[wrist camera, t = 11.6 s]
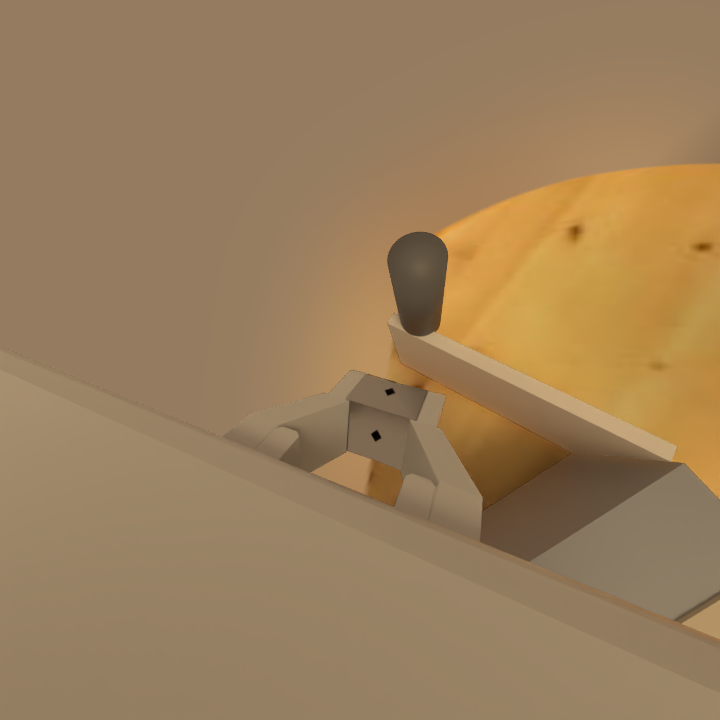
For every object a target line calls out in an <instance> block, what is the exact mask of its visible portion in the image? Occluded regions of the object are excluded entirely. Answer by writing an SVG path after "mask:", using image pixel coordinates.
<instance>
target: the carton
mask: <svg viewBox="0 0 720 720" xmlns="http://www.w3.org/2000/svg"><path fill="white" fill-rule="evenodd" d="M480 542H481V543H484V544H486V545H489V546H491V547H494V548H496V549H498V550H501V551H503V552H506V553H508V554H511V555H513V556H516V557H518V558H521V559H523V560H526V561H528V562H531V563H533V564H536V565H538V566H541V567H543V568H546V569H548V570H550V571H553V572H555V573H558V574H560V575H563V576H565V577H568V578H570V579H573V580H575V581H578V582H580V583H583V584H585V585H588V586H590V587H592V588H595V589H597V590H600V591H602V592H605V593H607V594H610V595H612V596H615V597H617V598H619V599H622V600H624V601H627V602H629V603H632V604H634V605H637V606H639V607H642V608H644V609H646V610H649V611H651V612H654V613H656V614H659V615H661V616H664V617H666V618H669V619H671V620H673V621H676V622H678V623H681V624H683V625H686V626H688V627H691V628H693V629H696V630H698V631H700V632H703V633H705V634H708V635H710V636H713V637H715V638H718V639H720V500H719V499H718V498H717V497H716V495H715V494H714V493H713V492H712V491H711V490H710V489H709V488H708V487H707V486H706V485H705V484H704V483H703V482H702V481H701V480H700V479H699V478H698V477H697V476H696V475H695V474H694V473H693V472H692V471H691V470H690V469H689V467H688V466H687V465H686V464H685V463H678V462H667V461H657V460H646V459H636V458H626V457H615V456H605V455H595V454H584V453H574V452H573V453H571V454H570V455H568V456H567V457H565V458H564V459H562V460H561V461H559V462H557V463H556V464H554V465H553V466H551V467H550V468H548V469H547V470H545V471H544V472H542V473H541V474H539V475H537V476H536V477H534V478H533V479H531V480H530V481H528V482H527V483H525V484H524V485H522V486H521V487H519V488H517V489H516V490H514V491H513V492H511V493H510V494H508V495H507V496H505V497H504V498H502V499H500V500H499V501H497V502H496V503H494V504H493V505H491V506H490V507H488V508H487V509H485V510H484V511H482V517H481V532H480Z"/></svg>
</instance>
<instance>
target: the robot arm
mask: <svg viewBox="0 0 720 720" xmlns="http://www.w3.org/2000/svg"><path fill="white" fill-rule="evenodd" d="M445 398H446V395H444V394H440V393H436V392H431V391H427V390H423V389H419V388H415V387H411V386H407V385H403V384H399V383H397V382H393V381H390V380H387V379H383V378H380V377H376V376H373V375H370V374H366V373H363V372H359V371H355V370H350V371H349V372H348V373H347V374H346V375H345V376H344V378H343V379H342V380H341V381H340V382H339V383H338V384H337V385H336V386H335V387H334V388H333V389H332V390H331V392H330V393H329V394H326V393H321V394H318V395H314V396H311V397H307V398H304V399H300V400H297V401H293V402H289V403H286V404H283V405H279V406H275V407H272V408H268V409H264V410H261V411H257V412H254V413H251V414H250V415H248V416H247V417H246V418H245V419H244V420H242V421H241V422H240V423H239V424H237V425H236V426H235V427H234V428H233V429H231V430H230V431H229V432H228V433H226V434H225V435H224V436H223V437H221V436H219V435H216V434H214V433H211V432H209V431H207V430H204V429H201V428H199V427H197V426H194V425H192V424H189V423H187V422H184V421H182V420H180V419H177V418H175V417H172V416H170V415H167V414H165V413H162V412H160V411H157V410H155V409H153V408H150V407H147V406H145V405H142V404H140V403H138V402H135V401H133V400H130V399H128V398H126V397H123V396H121V395H118V394H116V393H113V392H111V391H108V390H106V389H103V388H101V387H99V386H96V385H94V384H91V383H89V382H86V381H84V380H81V379H79V378H77V377H74V376H72V375H69V374H66V373H64V372H62V371H60V370H57V369H55V368H52V367H49V366H47V365H45V364H42V363H40V362H37V361H35V360H32V359H30V358H28V357H25V356H23V355H21V354H18V353H16V352H14V351H11V350H9V349H6V348H2V347H0V720H720V639H718V638H715V637H713V636H710V635H708V634H705V633H703V632H700V631H698V630H696V629H693V628H691V627H688V626H686V625H683V624H681V623H678V622H676V621H673V620H671V619H669V618H666V617H664V616H661V615H659V614H656V613H654V612H651V611H649V610H646V609H644V608H642V607H639V606H637V605H634V604H632V603H629V602H627V601H624V600H622V599H619V598H617V597H615V596H612V595H610V594H607V593H605V592H602V591H600V590H597V589H595V588H592V587H590V586H588V585H585V584H583V583H580V582H578V581H575V580H573V579H570V578H568V577H565V576H563V575H560V574H558V573H555V572H553V571H550V570H548V569H546V568H543V567H541V566H538V565H536V564H533V563H531V562H528V561H526V560H523V559H521V558H518V557H516V556H513V555H511V554H508V553H506V552H503V551H501V550H498V549H496V548H494V547H491V546H489V545H486V544H484V543H481V542H480V532H481V517H482V502H483V497H482V496H481V494H480V492H479V491H478V489H477V487H476V486H475V484H474V482H473V481H472V479H471V477H470V476H469V474H468V472H467V471H466V469H465V467H464V466H463V464H462V462H461V461H460V459H459V457H458V456H457V454H456V452H455V451H454V449H453V447H452V445H451V444H450V442H449V440H448V439H447V437H446V435H445V434H444V432H443V430H442V429H440V428H438V426H439V422H440V418H441V414H442V410H443V406H444V402H445ZM346 451H350V452H353V453H355V454H358V455H361V456H364V457H367V458H370V459H373V460H376V461H378V462H381V463H383V464H386V465H388V466H391V467H393V468H396V469H398V470H401V475H402V479H403V484H402V487H401V490H400V492H399V495H398V498H397V500H396V503H395V505H394V507H393V506H391V505H389V504H386V503H384V502H381V501H379V500H376V499H374V498H371V497H369V496H367V495H364V494H362V493H359V492H357V491H354V490H352V489H349V488H347V487H344V486H342V485H339V484H337V483H335V482H332V481H329V480H327V479H324V478H322V477H320V476H317V475H315V474H312V473H310V472H312V471H314V470H315V469H317V468H319V467H320V466H322V465H324V464H326V463H328V462H329V461H331V460H333V459H335V458H337V457H338V456H340V455H342V454H344V453H346Z"/></svg>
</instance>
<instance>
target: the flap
mask: <svg viewBox="0 0 720 720" xmlns="http://www.w3.org/2000/svg"><path fill="white" fill-rule="evenodd" d="M447 262H448V251H447V248H446V246H445V244H444V243H443V241H442V240H441V239H440V238H438V237H437V236H435V235H433V234H431V233H427V232H414V233H410V234H407V235H405V236H403V237H401V238H400V239H398V240H397V241H396V242H395V243H394V244H393V246H392V247H391V249H390V251H389V254H388V259H387V263H388V268H389V273H390V277H391V281H392V286H393V290H394V294H395V299H396V304H397V308H398V313H399V314H396V313H393V315H392V316H391V318H390V320H389V322H388V326H389V329H390V332H391V335H392V338H393V341H394V344H395V347H396V350H397V353H398V356H399V359H400V362H401V363H402V364H404V365H406V366H408V367H410V368H411V369H413V370H415V371H417V372H419V373H421V374H423V375H425V376H427V377H429V378H430V379H432V380H434V381H436V382H438V383H440V384H442V385H444V386H446V387H448V388H449V389H451V390H453V391H455V392H457V393H459V394H461V395H463V396H465V397H467V398H468V399H470V400H472V401H474V402H476V403H478V404H480V405H482V406H484V407H486V408H487V409H489V410H491V411H493V412H495V413H497V414H499V415H501V416H503V417H505V418H506V419H508V420H510V421H512V422H514V423H516V424H518V425H520V426H522V427H524V428H525V429H527V430H529V431H531V432H533V433H535V434H537V435H539V436H541V437H543V438H544V439H546V440H548V441H550V442H552V443H554V444H556V445H558V446H560V447H562V448H563V449H565V450H567V451H569V452H575V453H585V454H596V455H606V456H617V457H627V458H637V459H648V460H658V461H669V462H671V460H672V458H673V456H674V454H675V451H676V449H677V447H678V446H676V445H674V444H672V443H669V442H667V441H665V440H663V439H661V438H659V437H657V436H655V435H653V434H650V433H648V432H646V431H644V430H642V429H640V428H638V427H636V426H633V425H631V424H629V423H627V422H625V421H623V420H621V419H619V418H617V417H614V416H612V415H610V414H608V413H606V412H604V411H602V410H600V409H597V408H595V407H593V406H591V405H589V404H587V403H585V402H583V401H581V400H578V399H576V398H574V397H572V396H570V395H568V394H566V393H564V392H561V391H559V390H557V389H555V388H553V387H551V386H549V385H547V384H545V383H542V382H540V381H538V380H536V379H534V378H532V377H530V376H528V375H526V374H523V373H521V372H519V371H517V370H515V369H513V368H511V367H509V366H506V365H504V364H502V363H500V362H498V361H496V360H494V359H492V358H490V357H487V356H485V355H483V354H481V353H479V352H477V351H475V350H473V349H470V348H468V347H466V346H464V345H462V344H460V343H458V342H456V341H454V340H451V339H449V338H447V337H445V336H443V335H441V334H439V333H437V332H436V331H437V330H438V328H439V326H440V321H441V313H442V304H443V296H444V287H445V279H446V270H447Z"/></svg>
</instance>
